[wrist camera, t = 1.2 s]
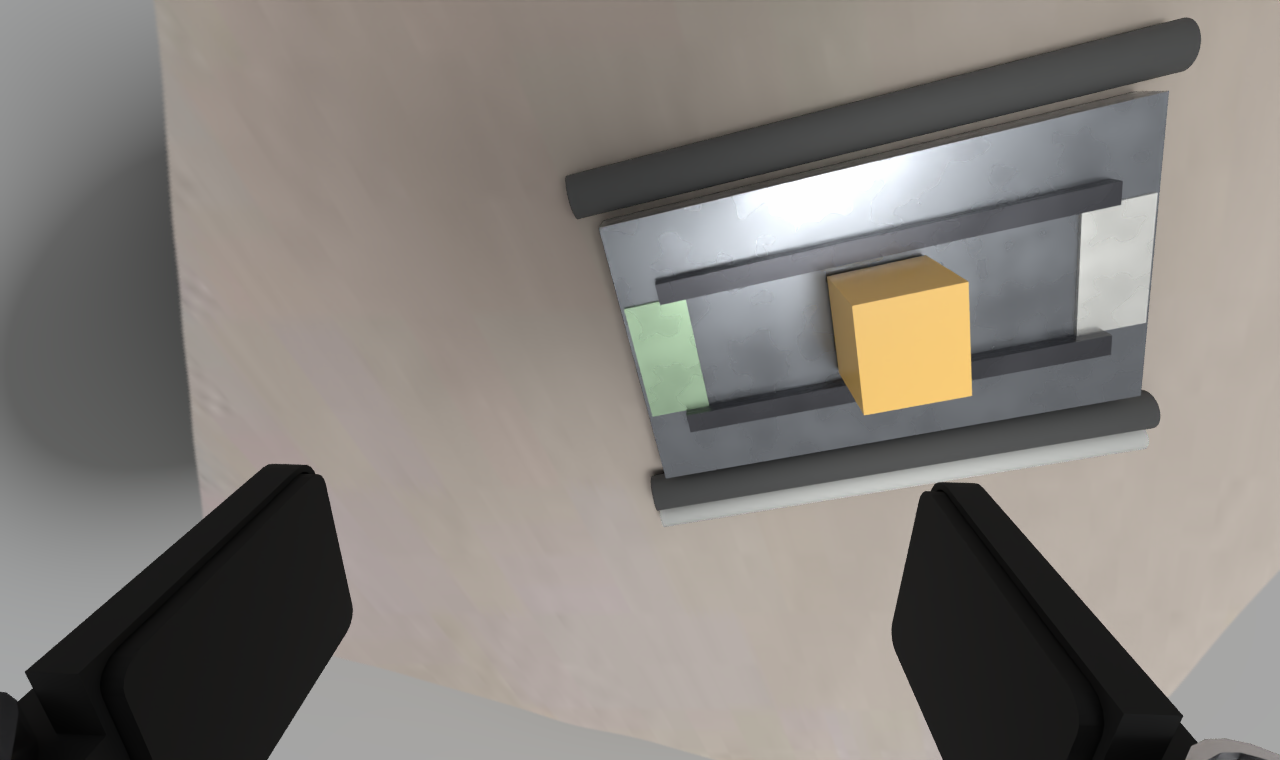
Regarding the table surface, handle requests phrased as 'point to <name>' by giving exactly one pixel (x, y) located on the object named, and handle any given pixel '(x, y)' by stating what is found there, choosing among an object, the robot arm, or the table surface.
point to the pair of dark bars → (861, 129)
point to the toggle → (902, 334)
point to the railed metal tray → (888, 232)
